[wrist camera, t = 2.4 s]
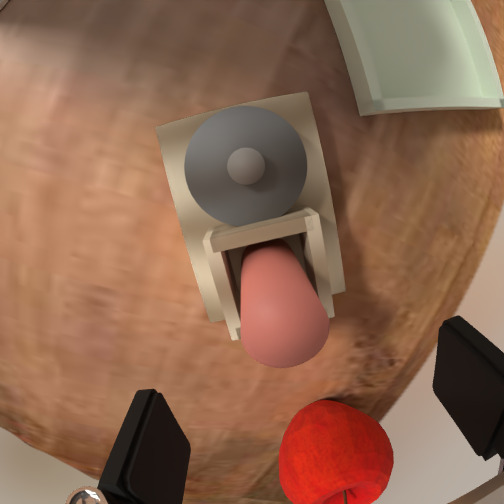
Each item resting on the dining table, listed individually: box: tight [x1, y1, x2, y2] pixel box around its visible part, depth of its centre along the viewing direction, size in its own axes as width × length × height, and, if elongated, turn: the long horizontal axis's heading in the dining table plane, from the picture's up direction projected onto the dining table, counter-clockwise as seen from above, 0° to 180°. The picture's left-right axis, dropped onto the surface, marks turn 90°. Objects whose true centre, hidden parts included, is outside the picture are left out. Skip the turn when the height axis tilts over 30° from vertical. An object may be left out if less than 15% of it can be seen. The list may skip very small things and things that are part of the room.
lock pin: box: [241, 238, 330, 368], centre depth 16 cm, size 4×4×9 cm
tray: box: [324, 0, 504, 116], centre depth 16 cm, size 14×14×3 cm
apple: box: [279, 400, 394, 504], centre depth 22 cm, size 10×10×12 cm
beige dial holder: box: [155, 91, 346, 340], centre depth 19 cm, size 14×10×6 cm
